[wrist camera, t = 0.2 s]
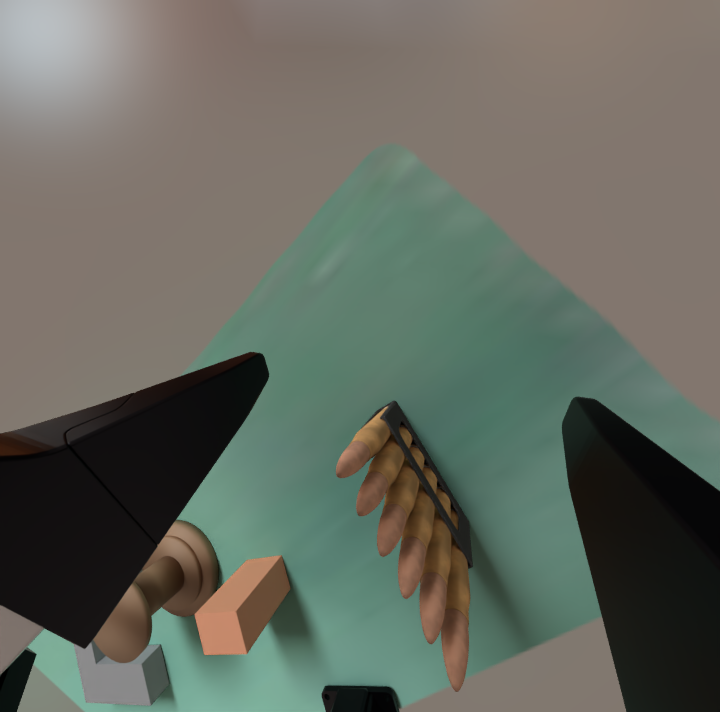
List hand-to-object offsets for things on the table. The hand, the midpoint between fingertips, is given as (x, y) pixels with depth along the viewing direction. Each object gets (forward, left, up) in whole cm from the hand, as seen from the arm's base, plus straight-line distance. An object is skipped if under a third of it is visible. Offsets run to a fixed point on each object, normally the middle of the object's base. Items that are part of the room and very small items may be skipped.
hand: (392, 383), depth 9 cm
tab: (-14, +20, -15) cm, 29 cm away
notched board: (-17, +41, -15) cm, 47 cm away
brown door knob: (-12, +30, -15) cm, 35 cm away
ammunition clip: (-7, +3, -15) cm, 17 cm away
